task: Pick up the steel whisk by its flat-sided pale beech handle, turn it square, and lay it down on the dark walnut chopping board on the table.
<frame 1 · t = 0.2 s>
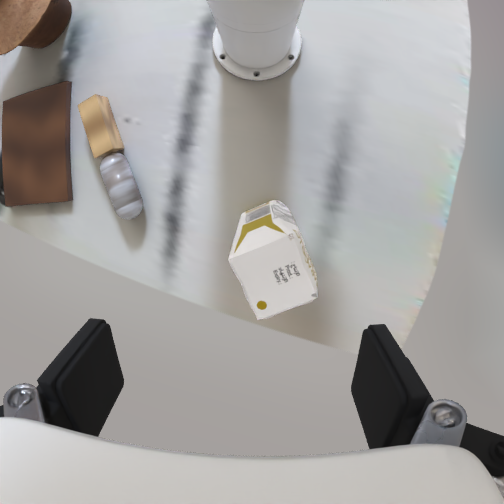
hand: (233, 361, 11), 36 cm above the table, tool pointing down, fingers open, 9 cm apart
whisk: (117, 158, 44), on the table
juice carton: (268, 228, 47), on the table
pitcher: (50, 22, 36), on the table
chopping board: (35, 146, 43), on the table
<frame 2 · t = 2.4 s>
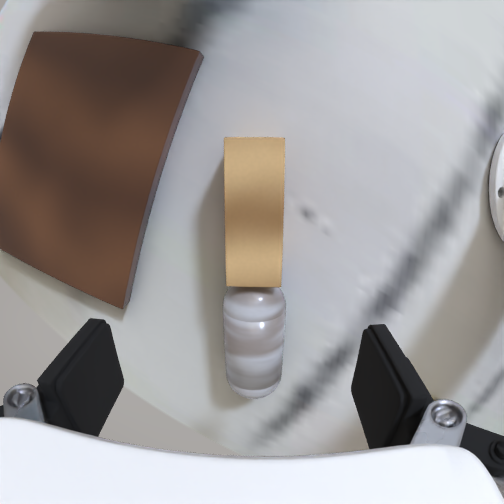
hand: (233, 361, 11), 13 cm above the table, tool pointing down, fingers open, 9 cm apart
whisk: (255, 277, 24), on the table
chopping board: (72, 158, 21), on the table
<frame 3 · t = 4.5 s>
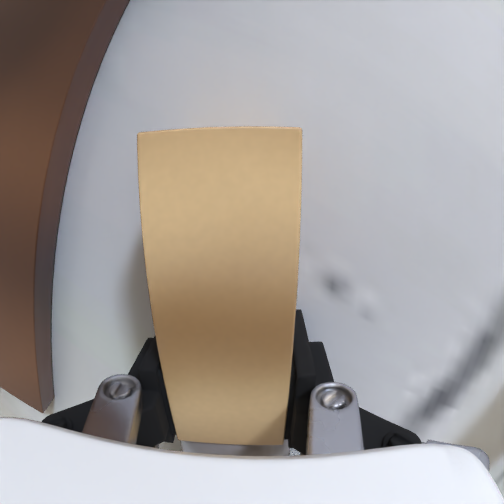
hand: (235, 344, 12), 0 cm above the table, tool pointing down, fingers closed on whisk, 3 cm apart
whisk: (237, 387, 13), on the table, touching gripper
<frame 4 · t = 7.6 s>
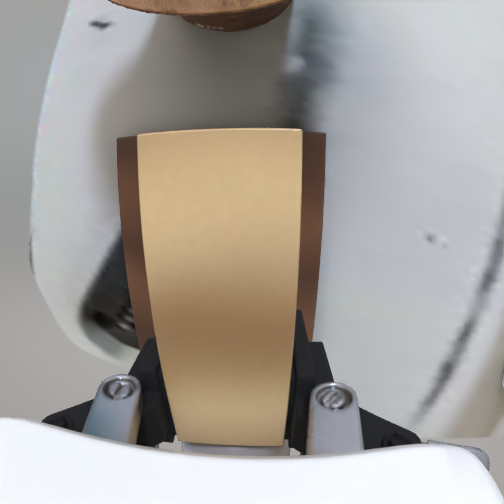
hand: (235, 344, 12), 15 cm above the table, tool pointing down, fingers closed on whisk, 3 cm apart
whisk: (238, 388, 13), point 15 cm above the table, touching gripper
chopping board: (220, 255, 26), on the table
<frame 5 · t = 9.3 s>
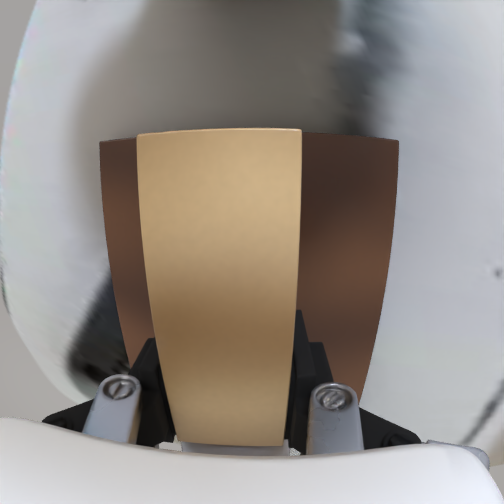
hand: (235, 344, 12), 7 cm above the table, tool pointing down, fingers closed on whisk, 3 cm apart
whisk: (237, 388, 13), point 7 cm above the table, touching gripper
chopping board: (247, 303, 19), on the table
when the fingers open (2 cm above the table, at t = 11.0 s): whisk stays where it is, resting on chopping board.
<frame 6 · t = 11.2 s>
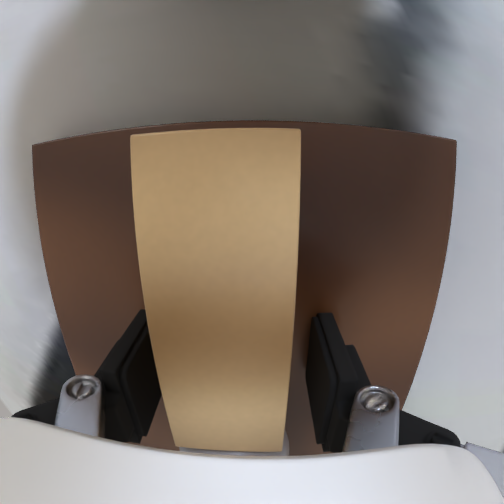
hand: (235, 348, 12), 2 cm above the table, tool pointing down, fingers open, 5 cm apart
whisk: (236, 392, 13), point 1 cm above the table, touching chopping board
chopping board: (240, 361, 14), on the table
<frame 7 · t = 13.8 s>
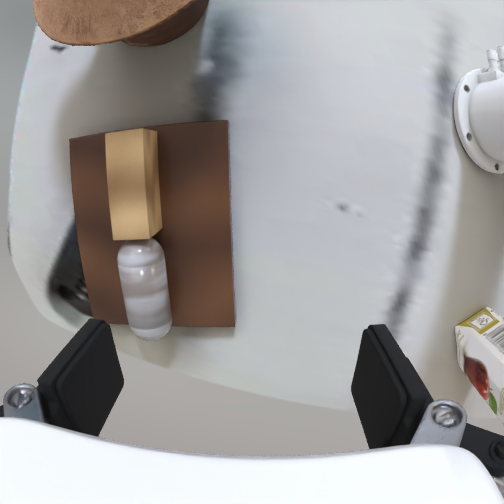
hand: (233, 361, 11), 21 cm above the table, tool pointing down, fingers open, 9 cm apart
whisk: (146, 239, 29), point 1 cm above the table, touching chopping board
juice carton: (471, 333, 35), on the table
pitcher: (159, 3, 23), on the table
chopping board: (151, 229, 30), on the table
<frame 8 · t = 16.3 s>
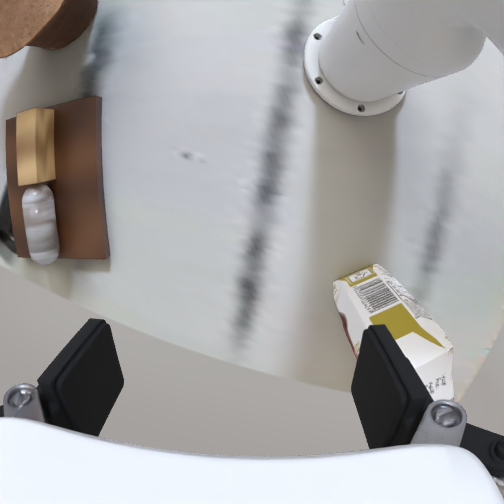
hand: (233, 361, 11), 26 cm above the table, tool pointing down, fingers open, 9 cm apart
whisk: (46, 188, 34), point 1 cm above the table, touching chopping board
juice carton: (361, 294, 39), on the table
pitcher: (67, 15, 28), on the table
chopping board: (53, 182, 35), on the table
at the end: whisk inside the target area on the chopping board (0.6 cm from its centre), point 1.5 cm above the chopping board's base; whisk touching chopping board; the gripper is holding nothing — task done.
